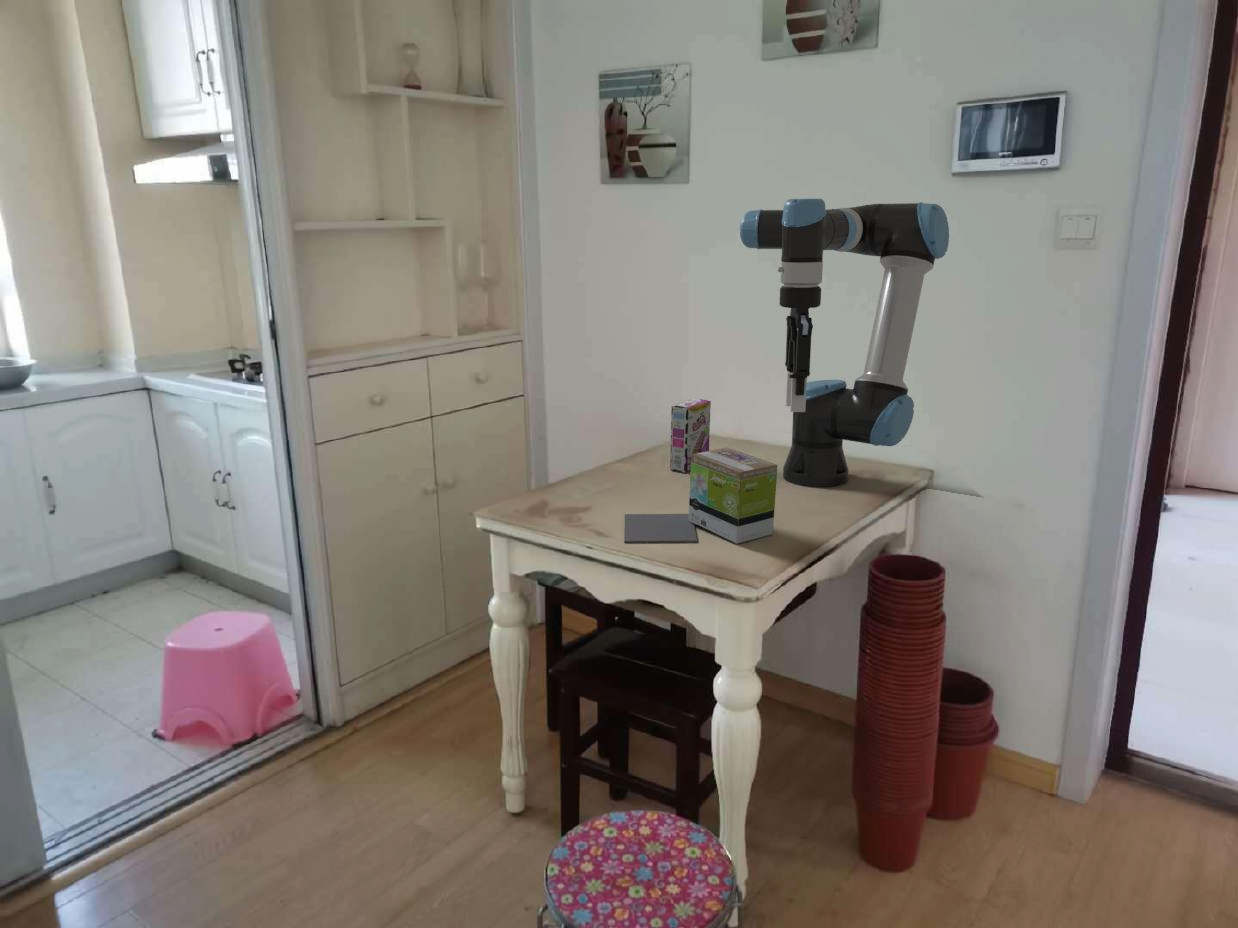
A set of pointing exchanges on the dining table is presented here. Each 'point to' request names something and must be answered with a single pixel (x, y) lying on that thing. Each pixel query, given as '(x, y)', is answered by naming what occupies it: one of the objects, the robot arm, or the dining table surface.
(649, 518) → the mat
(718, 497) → the tea box
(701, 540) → the dining table surface
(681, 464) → the candy bar box
